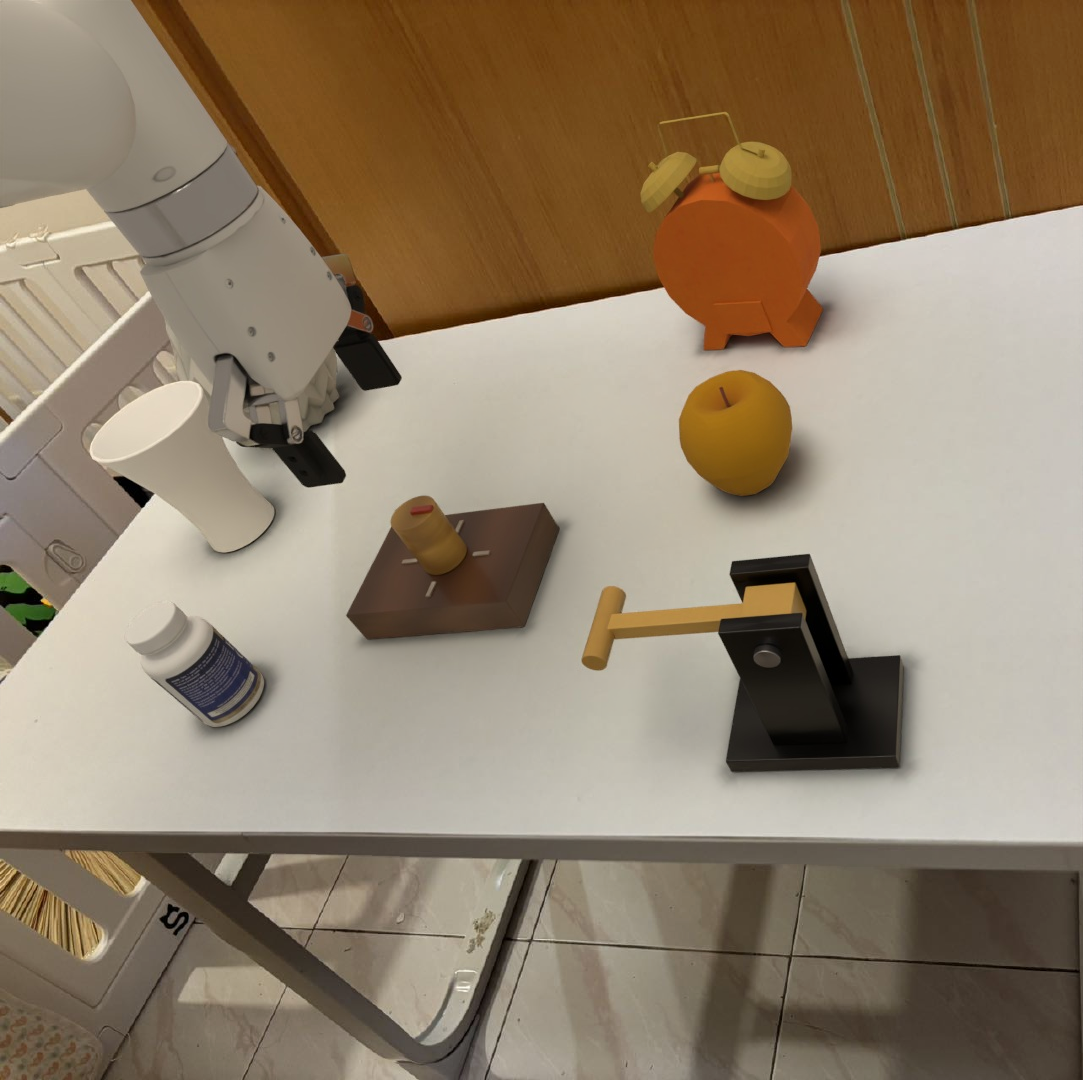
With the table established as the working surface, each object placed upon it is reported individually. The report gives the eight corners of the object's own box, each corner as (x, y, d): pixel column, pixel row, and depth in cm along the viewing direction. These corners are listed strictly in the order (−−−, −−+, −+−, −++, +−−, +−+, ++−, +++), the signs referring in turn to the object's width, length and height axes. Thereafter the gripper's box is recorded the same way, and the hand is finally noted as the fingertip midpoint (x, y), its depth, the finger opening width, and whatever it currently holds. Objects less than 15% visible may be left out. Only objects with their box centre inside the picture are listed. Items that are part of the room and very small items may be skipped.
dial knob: (417, 577, 77) (380, 530, 74) (433, 542, 80) (398, 495, 76) (458, 573, 76) (422, 524, 72) (473, 538, 78) (439, 489, 75)
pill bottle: (278, 671, 79) (197, 591, 73) (243, 729, 76) (154, 651, 69) (227, 671, 81) (144, 593, 75) (190, 728, 78) (99, 652, 71)
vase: (315, 467, 99) (191, 311, 87) (204, 466, 106) (75, 321, 94) (401, 362, 109) (300, 208, 96) (293, 367, 116) (187, 224, 104)
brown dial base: (366, 639, 79) (344, 614, 77) (412, 545, 85) (392, 519, 83) (524, 627, 74) (505, 599, 72) (559, 528, 81) (543, 500, 79)
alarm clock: (842, 303, 90) (783, 84, 77) (822, 346, 87) (757, 124, 73) (710, 311, 96) (634, 109, 83) (687, 352, 93) (604, 147, 79)
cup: (304, 524, 93) (209, 412, 84) (199, 588, 91) (91, 480, 82) (283, 473, 100) (195, 364, 91) (187, 530, 98) (86, 426, 89)
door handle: (590, 676, 57) (573, 651, 55) (610, 607, 60) (595, 581, 58) (800, 664, 53) (788, 636, 51) (809, 590, 56) (798, 562, 54)
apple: (823, 492, 74) (792, 399, 68) (715, 534, 75) (676, 446, 69) (792, 427, 81) (761, 336, 75) (693, 466, 81) (655, 380, 75)
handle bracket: (731, 772, 60) (663, 652, 52) (747, 675, 65) (687, 552, 57) (899, 768, 57) (854, 639, 49) (903, 666, 61) (863, 534, 54)
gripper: (211, 145, 64) (360, 360, 75) (48, 307, 52) (254, 531, 64) (307, 117, 61) (446, 344, 73) (158, 281, 50) (351, 519, 61)
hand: (356, 431), depth 68 cm, fingers open, 9 cm apart
